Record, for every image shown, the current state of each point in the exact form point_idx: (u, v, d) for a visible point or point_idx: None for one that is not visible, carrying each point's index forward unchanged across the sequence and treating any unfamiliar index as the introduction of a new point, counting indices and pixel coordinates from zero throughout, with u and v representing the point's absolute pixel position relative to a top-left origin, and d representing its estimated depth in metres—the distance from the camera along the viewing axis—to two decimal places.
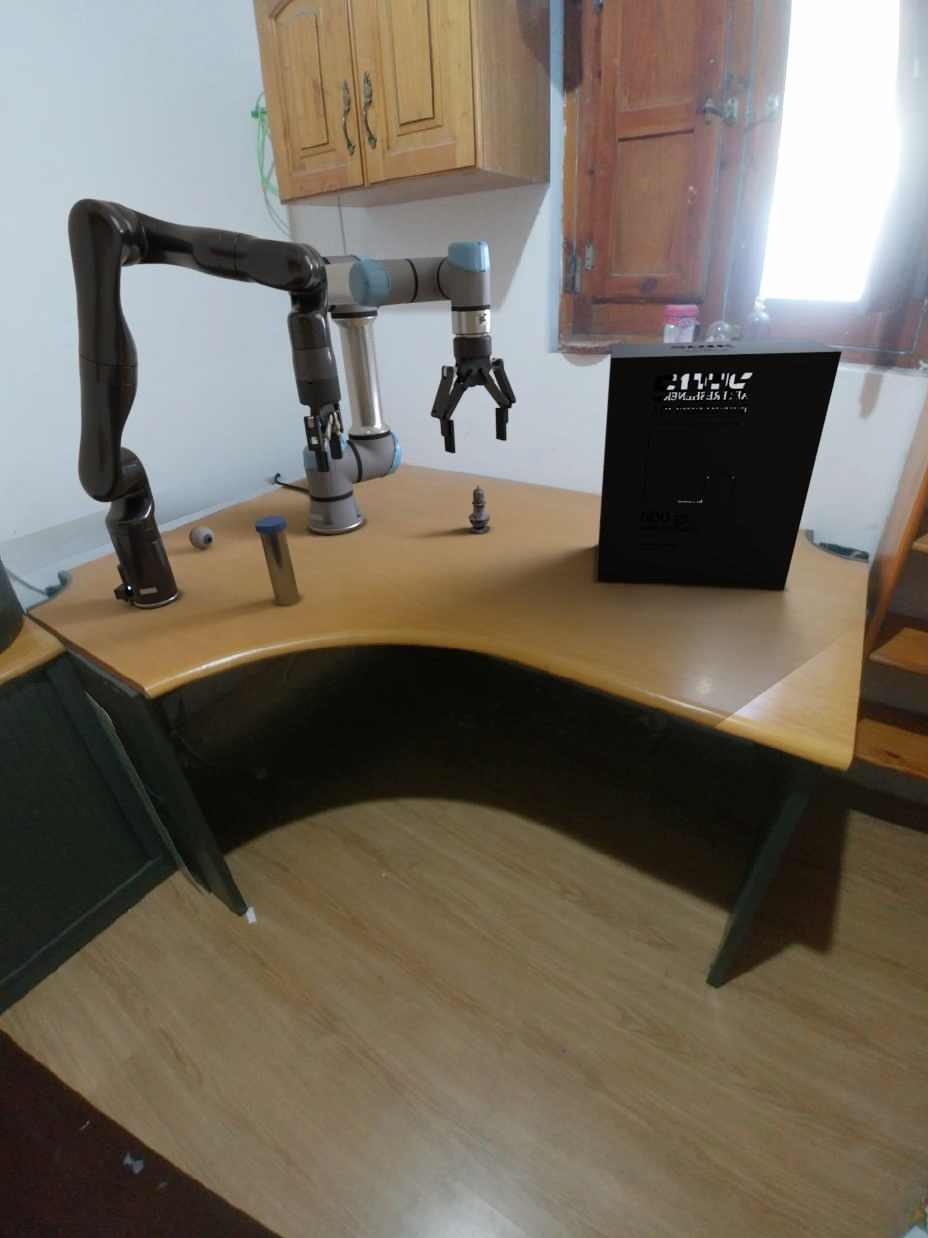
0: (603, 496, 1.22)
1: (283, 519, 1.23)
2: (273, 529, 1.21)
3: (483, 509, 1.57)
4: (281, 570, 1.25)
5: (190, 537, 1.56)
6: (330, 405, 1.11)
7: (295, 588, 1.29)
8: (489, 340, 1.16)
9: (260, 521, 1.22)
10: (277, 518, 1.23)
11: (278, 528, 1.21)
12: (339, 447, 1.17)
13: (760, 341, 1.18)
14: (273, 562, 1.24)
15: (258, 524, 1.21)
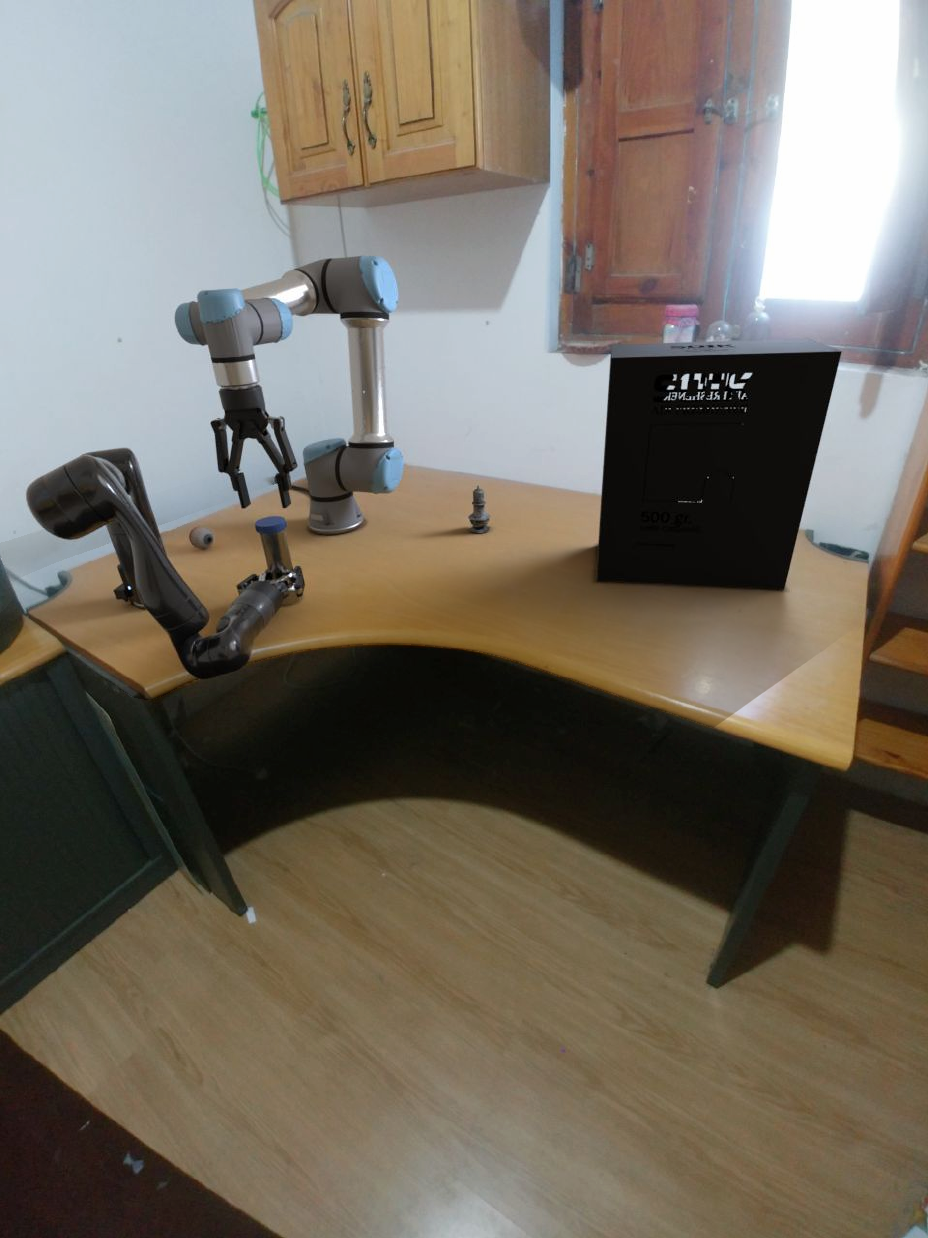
0: (603, 496, 1.22)
1: (283, 519, 1.23)
2: (273, 529, 1.21)
3: (483, 509, 1.57)
4: (281, 570, 1.25)
5: (190, 537, 1.56)
6: None
7: None
8: None
9: (260, 521, 1.22)
10: (277, 518, 1.23)
11: (278, 528, 1.21)
12: None
13: (760, 341, 1.18)
14: (273, 562, 1.24)
15: (258, 524, 1.21)
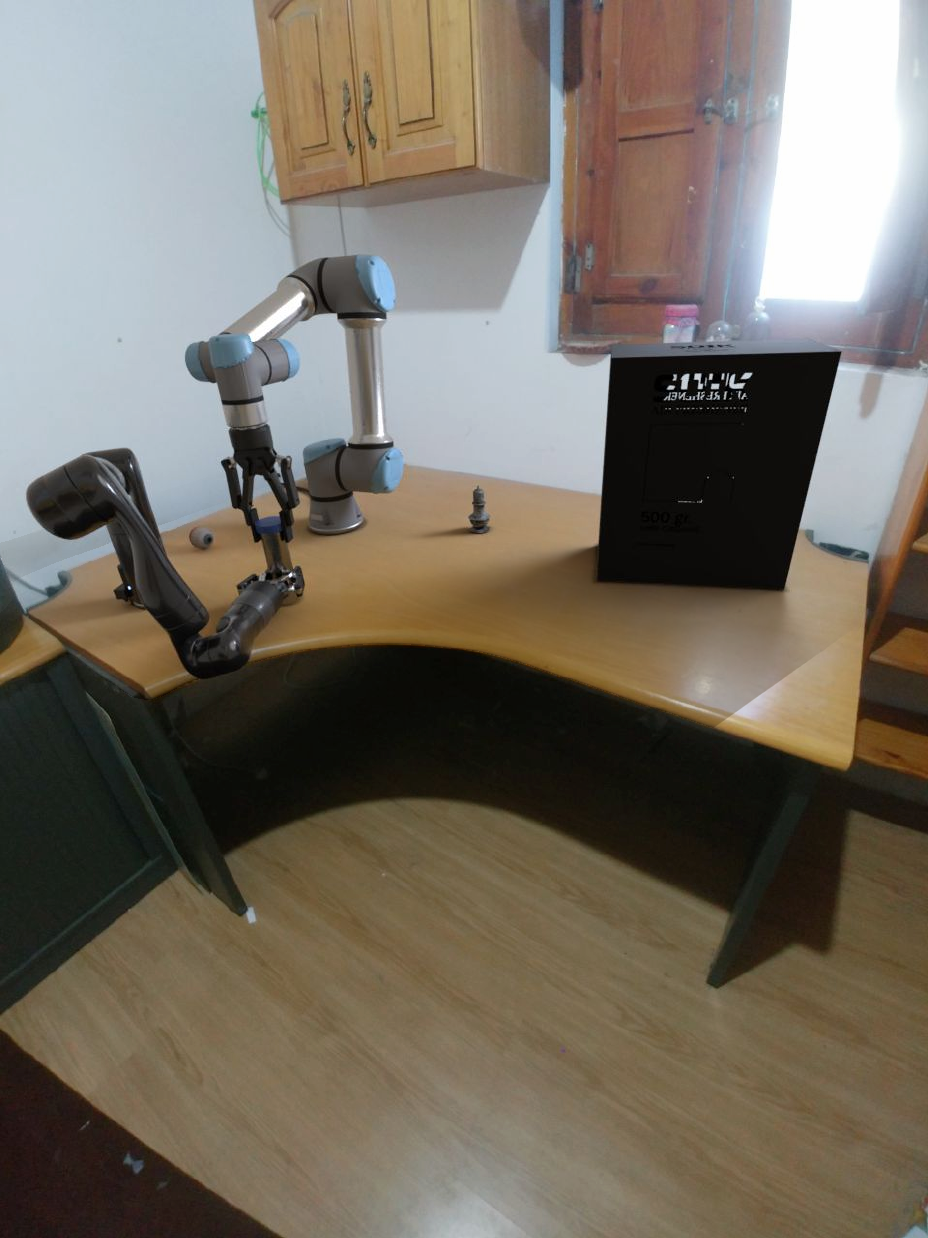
0: (603, 496, 1.22)
1: None
2: (273, 529, 1.21)
3: (483, 509, 1.57)
4: (281, 571, 1.25)
5: (190, 537, 1.56)
6: None
7: None
8: None
9: (260, 521, 1.22)
10: (277, 518, 1.23)
11: (278, 528, 1.21)
12: None
13: (760, 341, 1.18)
14: (273, 562, 1.24)
15: (258, 524, 1.21)
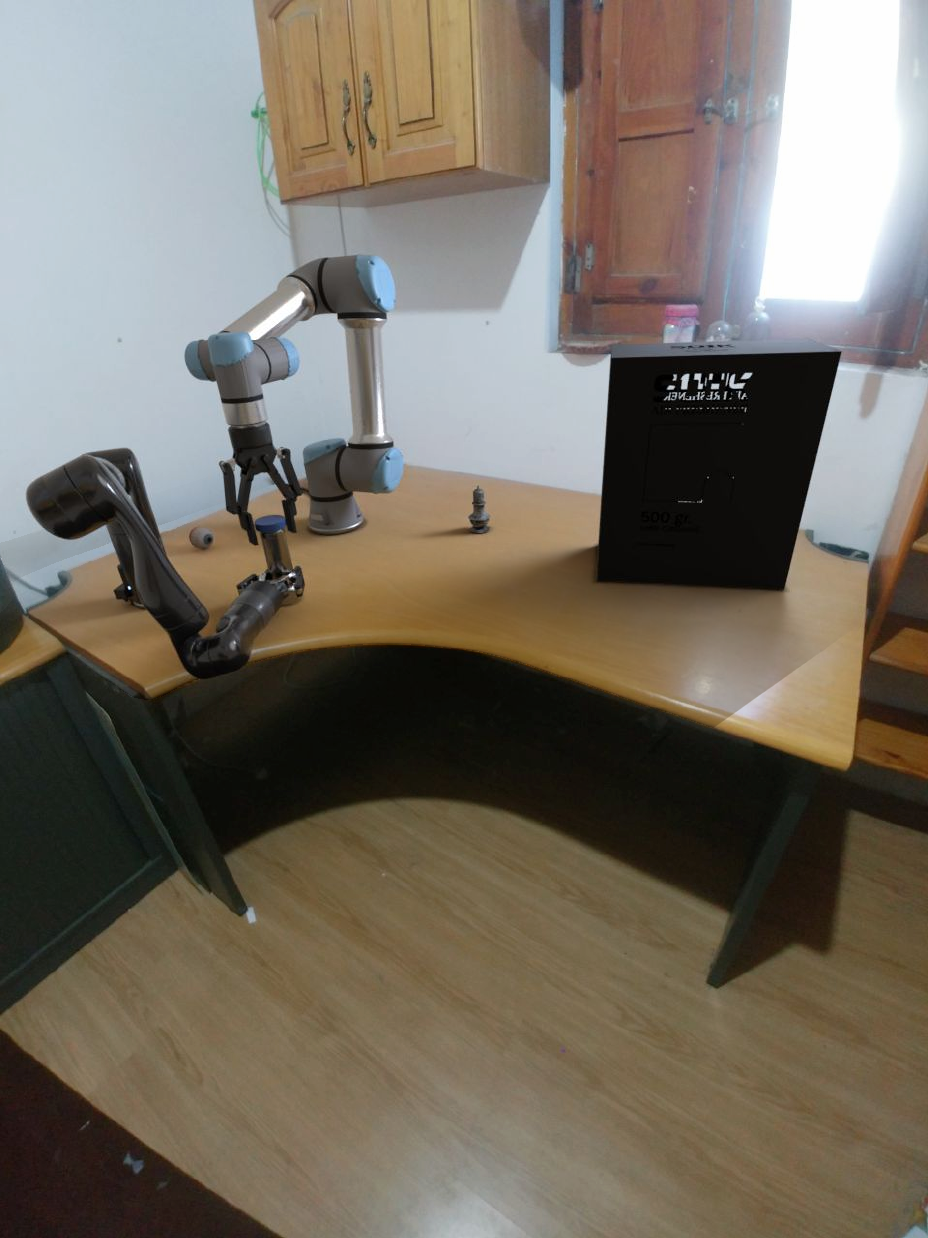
0: (603, 496, 1.22)
1: (269, 515, 1.24)
2: None
3: (483, 509, 1.57)
4: (281, 571, 1.25)
5: (190, 537, 1.56)
6: None
7: None
8: None
9: (266, 523, 1.20)
10: (264, 518, 1.23)
11: None
12: None
13: (760, 341, 1.18)
14: (273, 562, 1.24)
15: (274, 522, 1.20)
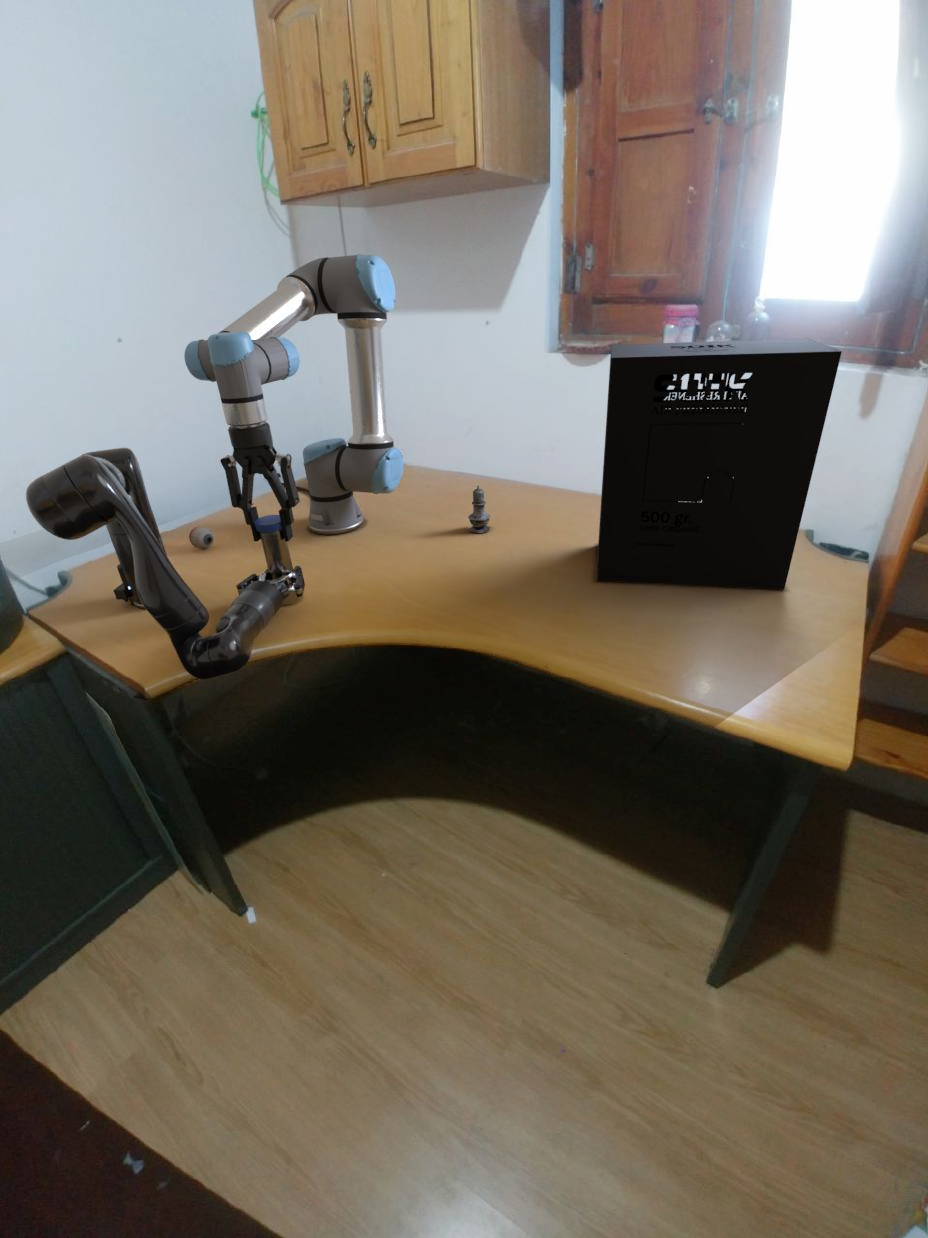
0: (603, 496, 1.22)
1: (269, 515, 1.24)
2: None
3: (483, 509, 1.57)
4: (281, 571, 1.25)
5: (190, 537, 1.56)
6: None
7: None
8: None
9: (266, 523, 1.20)
10: (264, 518, 1.23)
11: None
12: None
13: (760, 341, 1.18)
14: (273, 562, 1.24)
15: (274, 522, 1.20)
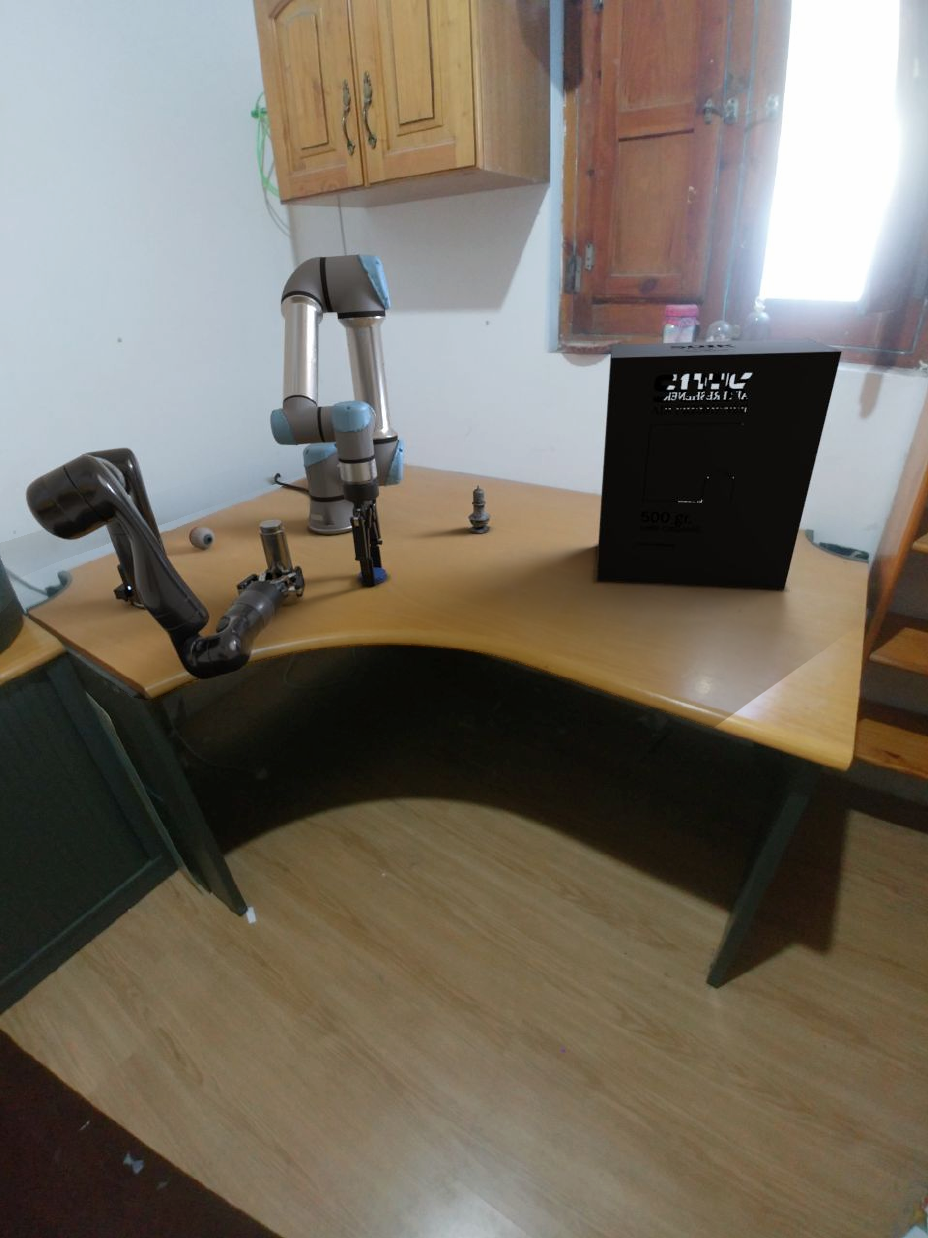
0: (603, 496, 1.22)
1: (360, 574, 1.37)
2: None
3: (483, 509, 1.57)
4: (281, 571, 1.25)
5: (190, 537, 1.56)
6: None
7: None
8: (342, 486, 1.26)
9: (381, 572, 1.37)
10: None
11: None
12: None
13: (760, 341, 1.18)
14: (273, 562, 1.24)
15: (381, 569, 1.39)
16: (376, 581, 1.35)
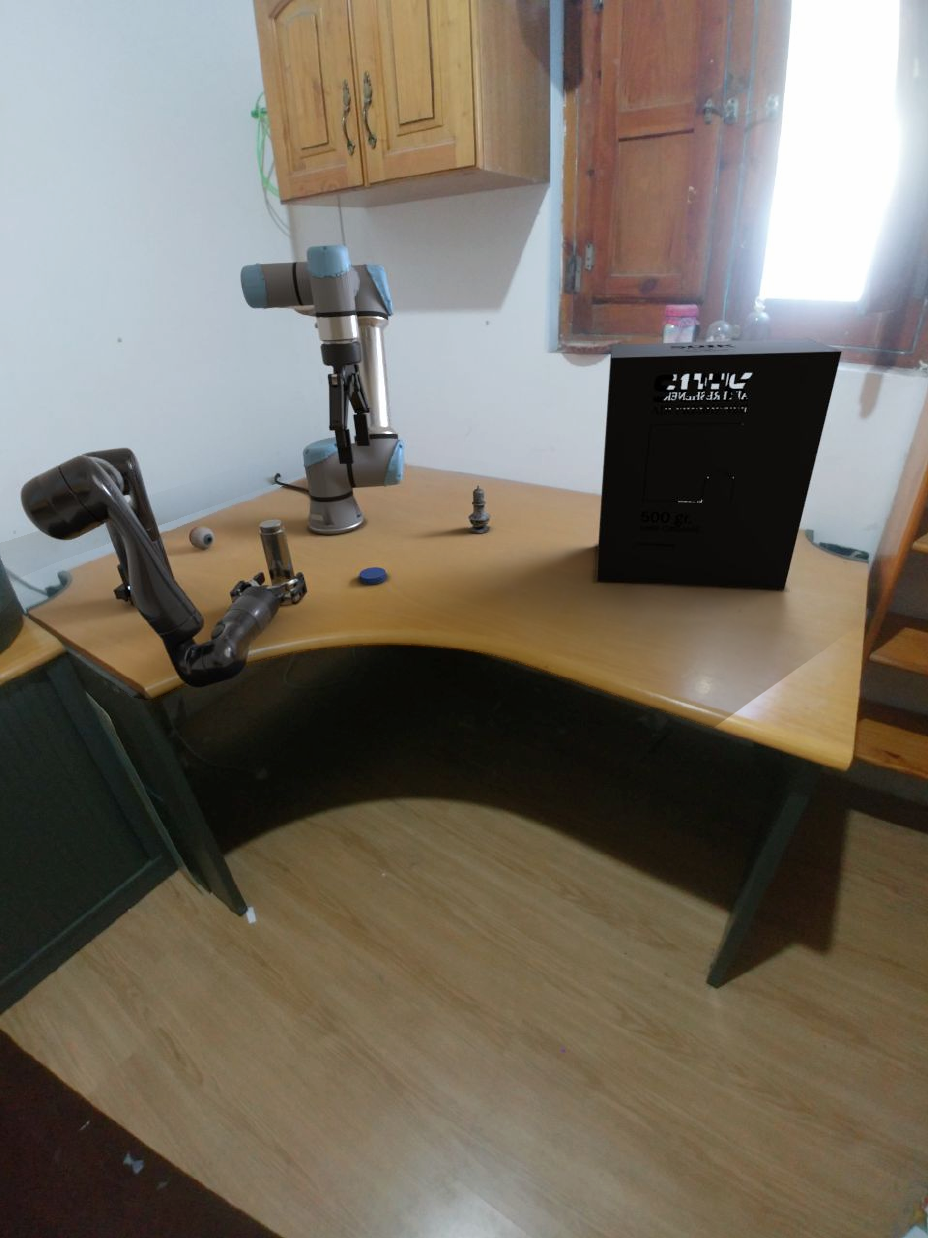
0: (603, 496, 1.22)
1: (360, 574, 1.37)
2: None
3: (483, 509, 1.57)
4: (281, 571, 1.25)
5: (190, 537, 1.56)
6: None
7: None
8: None
9: (381, 572, 1.37)
10: (366, 575, 1.36)
11: None
12: None
13: (760, 341, 1.18)
14: (273, 562, 1.24)
15: (381, 569, 1.39)
16: (376, 581, 1.35)
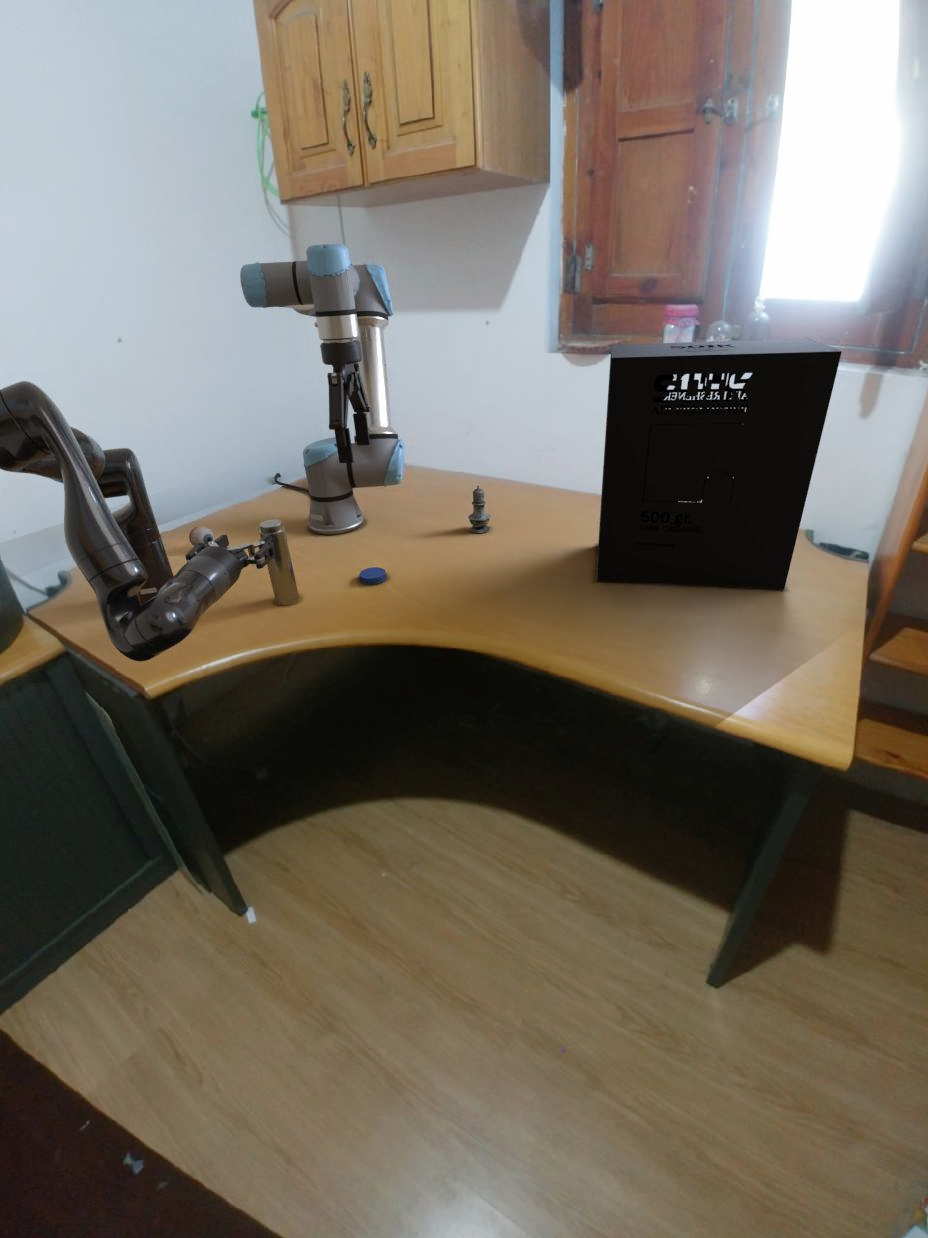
0: (603, 496, 1.22)
1: (360, 574, 1.37)
2: None
3: (483, 509, 1.57)
4: (281, 571, 1.25)
5: (190, 537, 1.56)
6: None
7: (295, 588, 1.29)
8: (320, 347, 1.13)
9: (381, 572, 1.37)
10: (366, 575, 1.36)
11: None
12: None
13: (760, 341, 1.18)
14: (273, 562, 1.24)
15: (381, 569, 1.39)
16: (376, 581, 1.35)
